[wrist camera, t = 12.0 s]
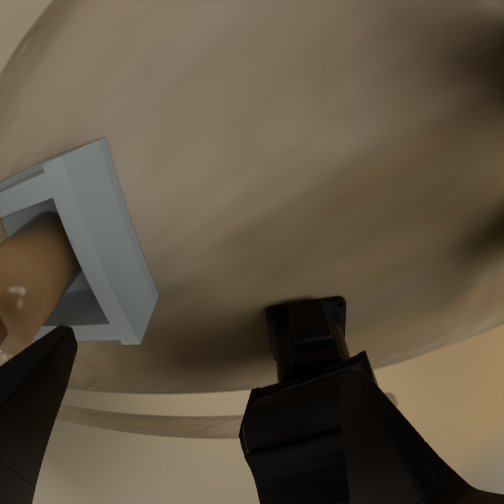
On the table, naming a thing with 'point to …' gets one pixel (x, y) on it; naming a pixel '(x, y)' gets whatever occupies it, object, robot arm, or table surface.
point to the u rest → (88, 243)
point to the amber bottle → (33, 278)
